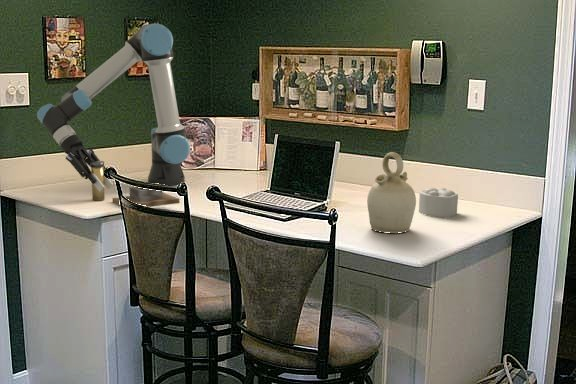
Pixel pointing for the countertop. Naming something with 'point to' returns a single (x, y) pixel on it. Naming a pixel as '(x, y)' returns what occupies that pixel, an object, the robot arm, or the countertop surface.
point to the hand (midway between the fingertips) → (106, 187)
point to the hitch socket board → (149, 197)
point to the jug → (391, 199)
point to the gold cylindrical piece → (99, 172)
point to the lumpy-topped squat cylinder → (438, 202)
